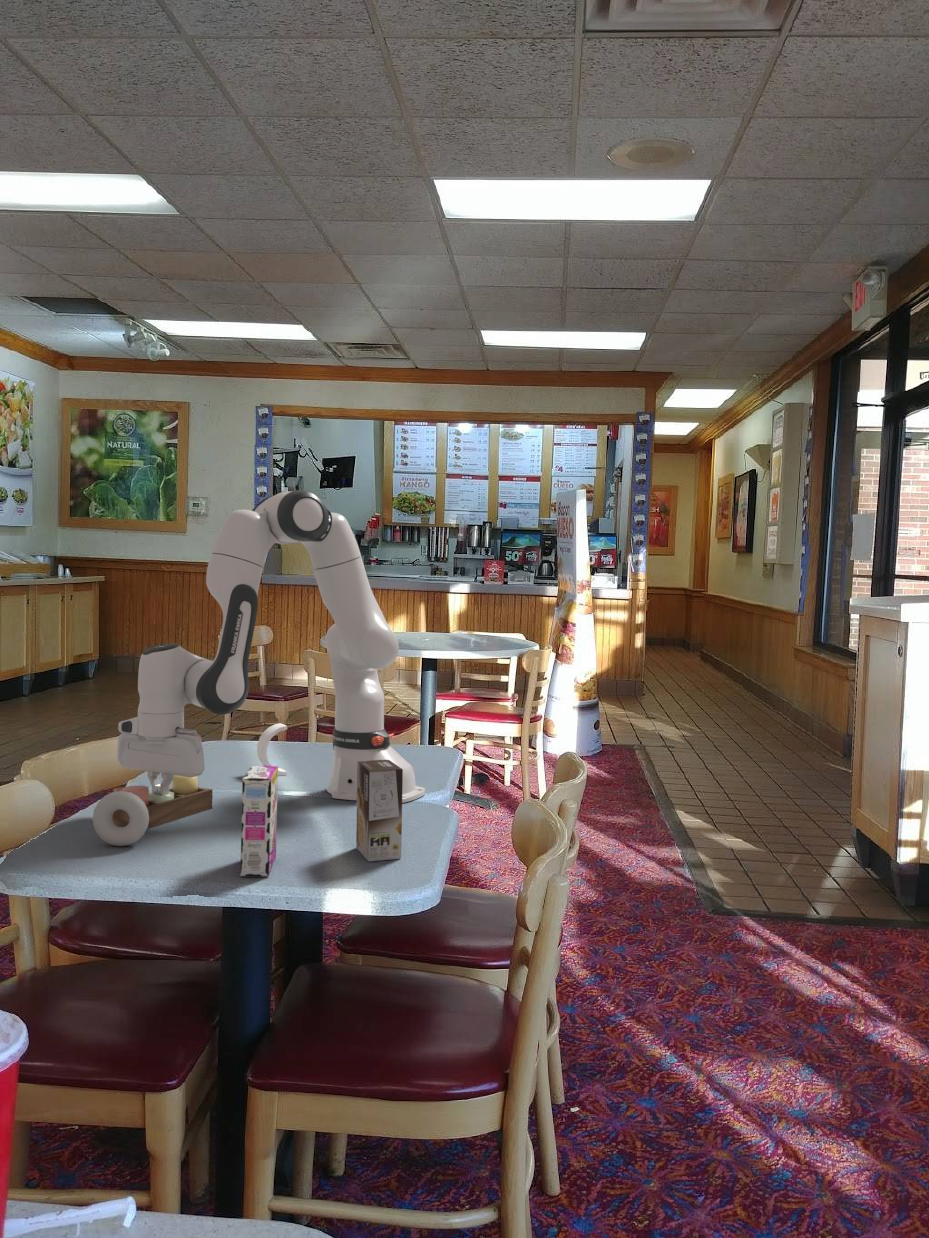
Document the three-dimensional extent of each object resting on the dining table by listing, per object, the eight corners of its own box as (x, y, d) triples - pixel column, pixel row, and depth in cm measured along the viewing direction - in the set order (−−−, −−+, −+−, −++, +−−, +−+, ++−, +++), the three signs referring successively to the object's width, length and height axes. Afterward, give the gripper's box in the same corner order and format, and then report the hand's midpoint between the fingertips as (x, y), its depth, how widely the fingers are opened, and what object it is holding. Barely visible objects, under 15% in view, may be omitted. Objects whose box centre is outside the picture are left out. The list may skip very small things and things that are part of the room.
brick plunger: (154, 807, 188) (154, 787, 188) (134, 813, 183) (135, 792, 183) (135, 804, 190) (135, 784, 190) (115, 809, 186) (115, 789, 186)
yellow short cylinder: (202, 793, 200) (202, 774, 200) (185, 798, 196) (185, 779, 195) (184, 790, 202) (184, 771, 202) (167, 795, 198) (167, 776, 198)
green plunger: (179, 812, 194) (179, 792, 194) (161, 817, 190) (161, 797, 189) (160, 809, 196) (160, 789, 196) (142, 814, 192) (142, 794, 192)
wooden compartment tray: (212, 808, 201) (212, 789, 201) (134, 832, 182) (134, 811, 182) (183, 803, 204) (184, 784, 204) (104, 826, 185) (104, 806, 185)
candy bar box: (270, 877, 158) (271, 778, 157) (239, 878, 157) (240, 778, 156) (278, 857, 169) (279, 764, 168) (249, 857, 168) (250, 764, 168)
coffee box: (402, 859, 169) (404, 768, 168) (367, 862, 167) (369, 771, 166) (387, 844, 178) (389, 758, 177) (354, 847, 175) (355, 760, 175)
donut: (151, 843, 175) (151, 789, 175) (145, 849, 172) (145, 793, 171) (96, 842, 175) (96, 788, 175) (89, 848, 172) (89, 792, 171)
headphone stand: (286, 775, 234) (287, 726, 233) (262, 777, 231) (263, 727, 230) (280, 771, 238) (280, 723, 237) (256, 773, 235) (257, 724, 234)
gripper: (212, 728, 190) (211, 797, 191) (135, 718, 199) (135, 784, 200) (189, 732, 185) (188, 803, 185) (112, 722, 194) (111, 790, 194)
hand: (160, 793), depth 193 cm, fingers closed, pressing on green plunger
